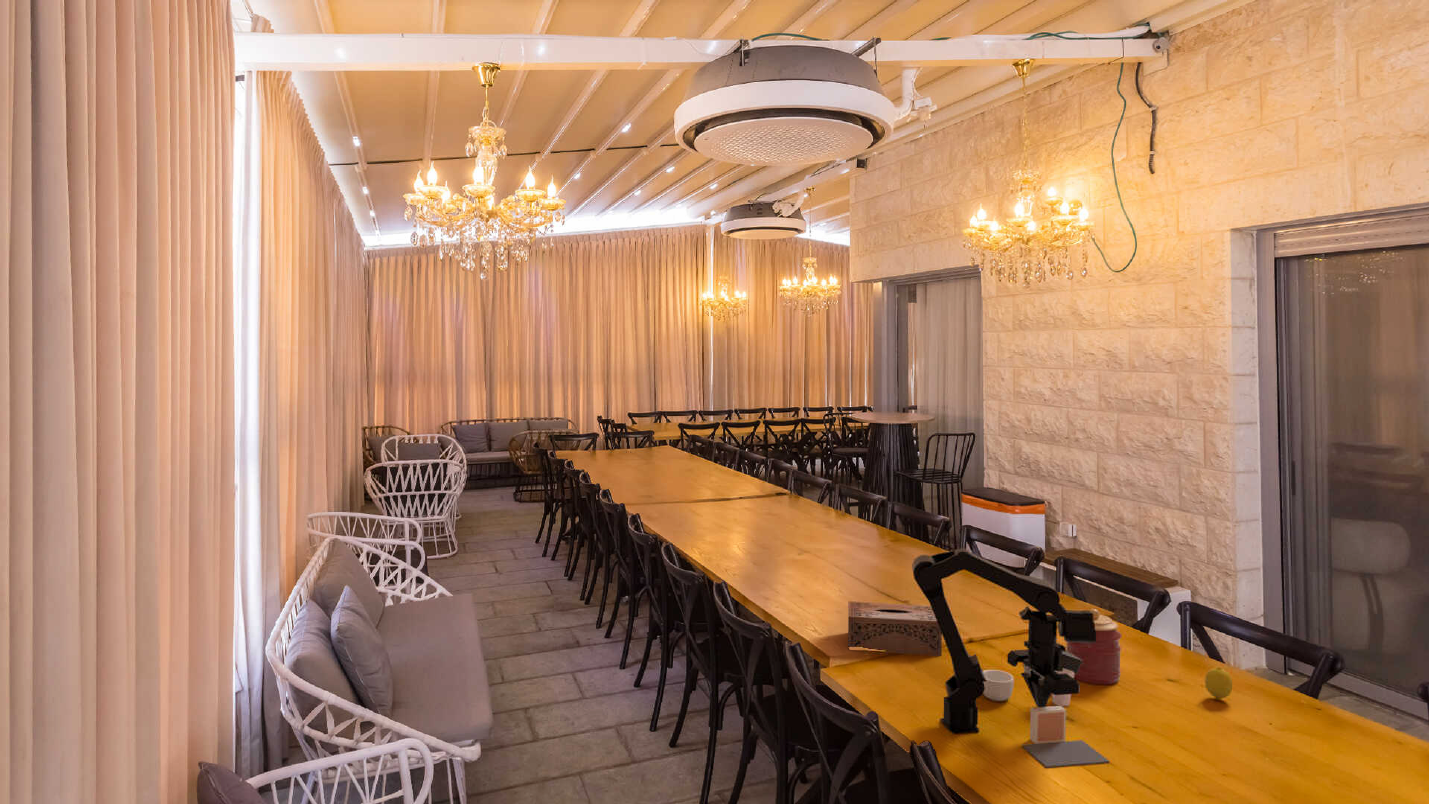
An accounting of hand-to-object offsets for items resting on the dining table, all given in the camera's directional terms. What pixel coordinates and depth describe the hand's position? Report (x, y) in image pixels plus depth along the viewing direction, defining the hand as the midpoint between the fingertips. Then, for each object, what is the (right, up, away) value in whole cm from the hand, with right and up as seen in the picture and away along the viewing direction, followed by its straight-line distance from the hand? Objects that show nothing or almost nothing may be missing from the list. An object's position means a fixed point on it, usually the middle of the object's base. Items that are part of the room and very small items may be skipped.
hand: (1041, 709), depth 170 cm
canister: (+27, -4, +33) cm, 43 cm away
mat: (+1, -6, -9) cm, 11 cm away
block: (0, -6, -2) cm, 6 cm away
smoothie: (+12, -5, +16) cm, 21 cm away
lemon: (+51, -5, +18) cm, 54 cm away
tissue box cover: (-20, -4, +56) cm, 59 cm away
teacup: (-2, -5, +20) cm, 21 cm away
